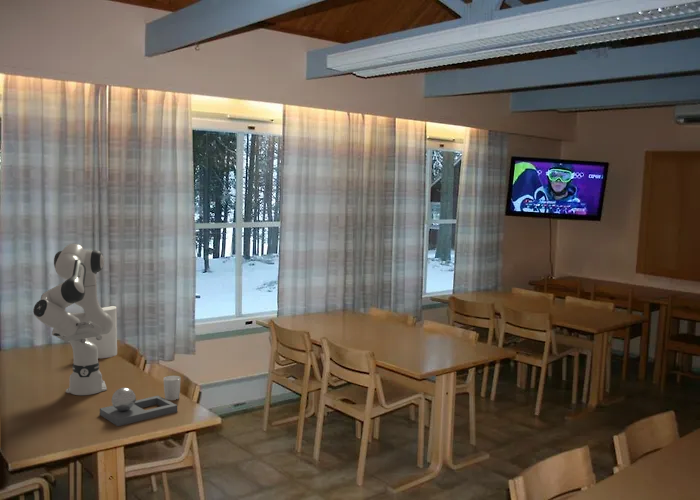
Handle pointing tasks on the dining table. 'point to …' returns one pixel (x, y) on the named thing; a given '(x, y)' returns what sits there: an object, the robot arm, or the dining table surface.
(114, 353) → the cylinder
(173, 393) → the white cup
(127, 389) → the steel ball
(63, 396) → the dining table surface
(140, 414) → the tray
